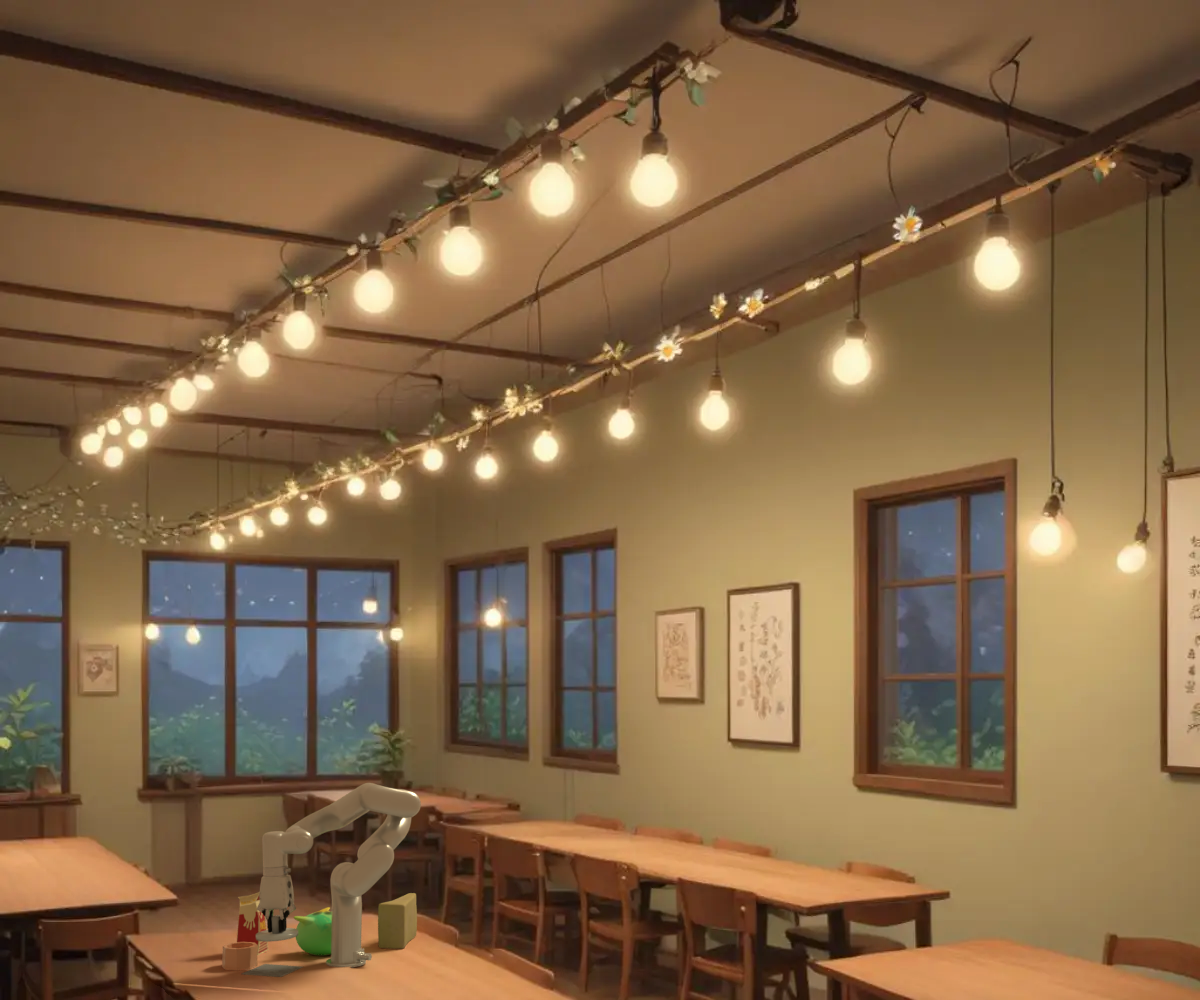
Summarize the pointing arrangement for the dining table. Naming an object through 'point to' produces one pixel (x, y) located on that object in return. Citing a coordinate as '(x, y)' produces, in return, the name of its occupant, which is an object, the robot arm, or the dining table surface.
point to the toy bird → (315, 932)
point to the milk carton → (251, 921)
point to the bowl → (239, 956)
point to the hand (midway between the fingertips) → (277, 931)
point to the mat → (272, 970)
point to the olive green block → (397, 922)
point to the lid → (276, 932)
